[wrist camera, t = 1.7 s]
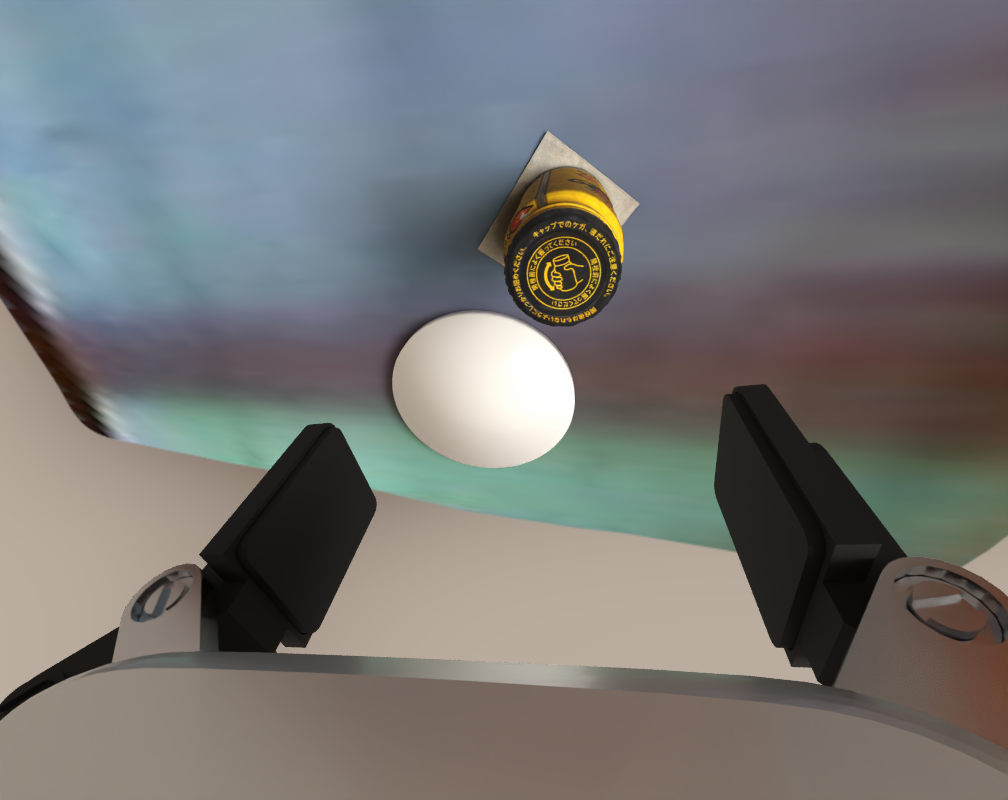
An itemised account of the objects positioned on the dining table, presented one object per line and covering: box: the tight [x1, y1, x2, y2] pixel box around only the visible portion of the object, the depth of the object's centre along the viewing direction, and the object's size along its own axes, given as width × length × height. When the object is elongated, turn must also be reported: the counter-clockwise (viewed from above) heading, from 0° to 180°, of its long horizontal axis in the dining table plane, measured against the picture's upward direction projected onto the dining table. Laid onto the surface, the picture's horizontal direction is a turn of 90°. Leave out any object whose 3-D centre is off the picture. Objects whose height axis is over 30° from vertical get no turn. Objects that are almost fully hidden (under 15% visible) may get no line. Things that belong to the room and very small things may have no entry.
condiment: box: [478, 131, 639, 326], centre depth 24 cm, size 7×8×12 cm
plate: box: [392, 310, 575, 468], centre depth 37 cm, size 16×16×1 cm
